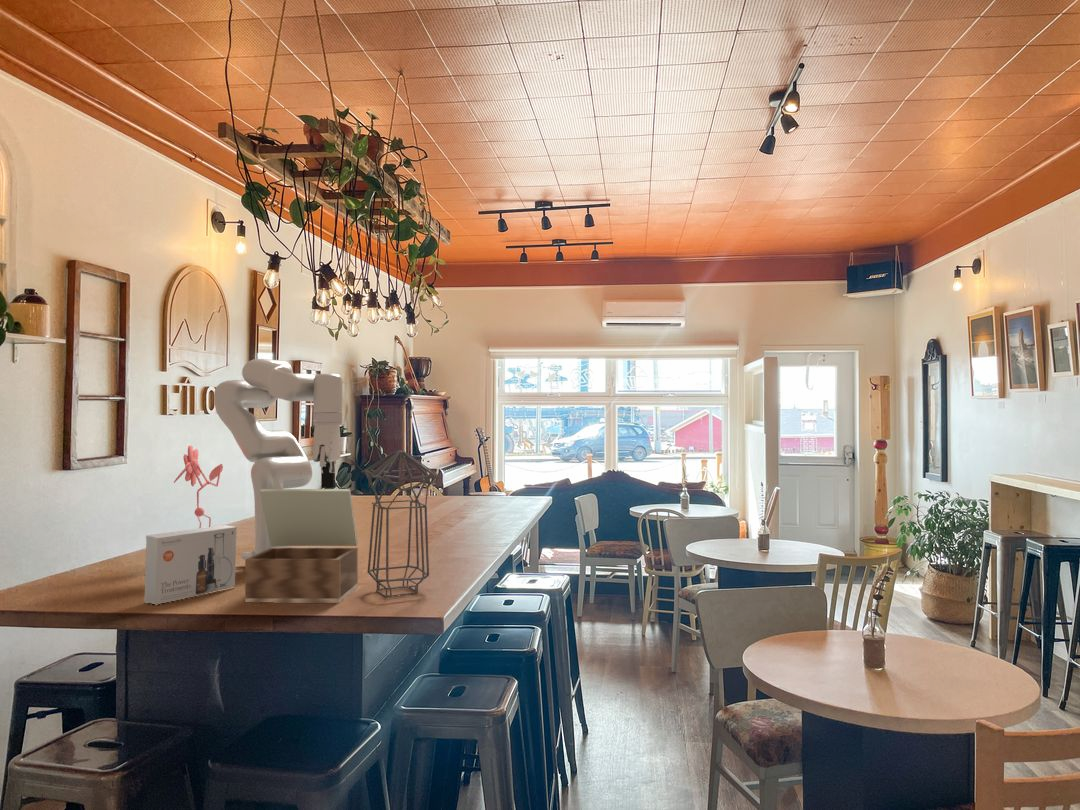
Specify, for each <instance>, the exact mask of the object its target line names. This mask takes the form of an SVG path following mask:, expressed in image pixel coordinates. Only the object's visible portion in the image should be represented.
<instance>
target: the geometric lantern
mask: <svg viewBox="0 0 1080 810" xmlns="http://www.w3.org/2000/svg"><path fill="white" fill-rule="evenodd" d="M397 461H398V469H397V470H394V467H395V465H396V463H397ZM403 462H404V465H405V468H406V469H404V470H403ZM409 466H410V468H409ZM414 466H415V468H414ZM374 469H375V470H374ZM417 471H419V472H420V476H414V477H413V474H414V473H415V472H417ZM360 473H364V474H365V476H366V478H367V480H368V488H372V491H373V493H374V498H375V501H374V502H371V505H372V514H371V526H370V537H369V538H370V539H369V552H368V563H367V565H368V566H367V573H368V575H370V577H371V578H372V579H373V580H374V582H375V583H376V592H377V593H378V592H379V594H380V595H382V596H383V597H385V598H391V597H392V596H393V597H399V596H398V595H400V596H406V595H405V594H408V595H413V593H415V594H418V593H419V585H420V584H421V583H423V581H424V580H426V579H427V578H428V577H429V576H430V566H429V565H430V562H429V560H430V559H429V537H428V536H429V535H428V534H429V533H428V532H429V531H428V508H427V507H428V506H427V502H428V501H427V500H428V493H429V492H428V491H429V487H431V485H432V484H433V483H434V481H435V480H436V479H437V477H438V476H439V474H438V473H436V472H435V471H434V470H433V469H431V468H429V467H428V466H427V465H425V464H423V463H422V462H421V461H419V460H418V459H416V458H415V457H413V456H412V455H411V454H409V453H408V452H406V451H404V450H395V451H394V452H391V453H390V454H387V455H386V456H384V457H383V458H382V459H380V460H378V461H377V462H375V463H373V464H372V465H370V466H368V467H366V468H365V469H363V470H361V471H360ZM391 473H398V474H397V476H396V475H391ZM403 473H408V474H407V475H406V476H405V477H404V478H401V476H402V474H403ZM381 475H382V476H381ZM372 479H374V484H373V481H372ZM379 479H380V480H381V481H384V482H385V484H384V486H383V488H382V491H381V493H380V495H379V496H378V492H377V491H376V487H377V484H378V481H379ZM392 479H397V482H395V481H392ZM419 479H420V480H421V481H420V482H417V484H415V485H413V483H412V481H413V480H419ZM405 481H407V482H409V484H410V487H405V486H404V485H403V483H404V482H405ZM388 484H391V485H392V486H394V487H395V488H396V489H398V490H399V491H398V493H397V494H396V495H395V497H394V498H393V499H392V500H386V501H385V500H382V501H381V499H382V498H383V497H382V496H383V495H384V492H385V490H386V489H387V486H388ZM419 486H421V487H420V489H419V492H418V493H417V494H416V492H415V489H416V488H418V487H419ZM401 487H402V488H401ZM424 487H426V491H425V492H426V493H425V501H424V503H422V502H420V501H419V497H420V495H421V494H422V491H423V489H424ZM410 490H411V491H412V493H413V496H414V499H413V498H412V497H411V495H410V493H409V492H408V491H410ZM404 491H405V493H406V494H407V495H408V496H409V498H410V499H411V500H410V499H405V500H396V499H397V498H398V496H399V494H401V492H404ZM405 502H407V503H408V502H409V506H400V507H399V506H395V507H391V505H392V504H393V503H405ZM385 503H389V505H387V507H385V506H382V504H385ZM413 504H415V506H413ZM376 507H377V515H376V525H375V513H376ZM398 509H399V510H401V509H405V510H406V509H409V515H408V516H409V519H408V521H409V522H408V539H407V542H408V543H407V559H406V560H407V562H406V565H399V566H389V542H390V541H389V538H390V536H389V528H390V527H389V525H390V524H389V521H390V519H389V517H390V516H389V513H390V512H389V511H390V510H398ZM413 509H414V510H415V512H414V513H415V537H416V538H415V539H416V540H415V541H416V542H415V544H416V566H415V565H411V564H410V559H411V537H412V513H413ZM418 509H419V512H418ZM423 509H424V525H423ZM384 510H385V511H386V512H385V513H386V514H385V515H386V516H385V517H386V518H385V520H386V521H385V529H386V530H385V531H386V533H385V534H386V535H385V541H386V542H385V550H386V551H385V555H386V556H385V558H386V559H385V567H380V560H381V559H380V558H381V543H382V529H383V520H384V519H383V518H384V517H383V516H384ZM418 513H419V515H418ZM418 516H419V517H418ZM418 518H419V519H418ZM374 525H375V536H374ZM419 525H420V528H419ZM424 527H425V528H424ZM419 529H420V546H421V547H420V548H421V550H420V548H419ZM424 530H425V532H424ZM424 533H425V534H424ZM424 535H425V546H424ZM373 538H374V539H375V540H374V551H372V549H373ZM424 547H425V552H424ZM419 551H421V567H420V557H419V555H420V554H419ZM372 552H373V561H372ZM424 554H425V555H426V557H425V555H424ZM425 558H426V571H425ZM371 561H372V568H371ZM408 568H409V569H414V570H413V571H412V572H411V574H409V576H408V577H406V576H407V573H408V572H407V571H408ZM395 569H398V570H399V569H405V571H404V576H403V577H399V578H389V570H395ZM383 570H384V571H385V578H384V579H382V578H381V579H380V578H379V575H380V573H379V571H383ZM417 570H418V571H420V572H421V574H422V576H421V577H419V576H417V577H412V575H413V574H415V571H417ZM417 580H419V581H418V582H415V581H417ZM401 581H402V585H398V586H390V582H401ZM405 581H406V585H405ZM384 582H386V584H387V587H386V586H385V585H384V584H383V583H384ZM409 582H411V583H413V585H409ZM380 587H382V588H380ZM408 587H409V588H408ZM405 588H406V589H407V588H408V589H411V590H412V591H413V592H405V593H397V594H392V593H393V590H398V589H405ZM383 589H384V590H385V593H383V592H381V591H383ZM388 590H389V595H388Z"/></svg>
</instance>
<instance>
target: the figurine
mask: <svg viewBox="0 0 1080 810" xmlns="http://www.w3.org/2000/svg"><path fill="white" fill-rule="evenodd" d="M193 447H194V446H193V445H192V444H191V445H188V446H187V454H186V453H184V454H183V463H184V465H185V467H184V469H182V470H181V472H179V474H178V476H177V477H176V478H175V479H174V481H173V483H174V484H175V483H176V482H177V481H178V480H179V479H180V478H181V477H182V475H184V474H185V475H184V476H185V477H184V481H185V482H189V481H190V485H191V487H194V486H195V485H196V483H197V481H198V483H199V485H200V488H198V489H197V491H196V509H194V515H195V517H197V520H198V522H199V527H198V529H199V528H202V521H201V519H200V517H202V516H204V517H205V518H208V520H209V521H208V527H211V521H212V520H211V519H212V518H211V517H210V516H208V515H206V514H205V510H204V509H203V508H202V507H200V505H199V503H200V496H199V495H200V491H201V490H202V489H204V488H205V487H206V486H207V485H210V486H211V485H212V486H214V487H218V486H219V483H220V479H221V473H222V471H223V470H224V469H223V467H224V466H223V464H222V463H220V464H218V465H217V466H215V467H214V468H213V469H212V470H211V471H210V473H209V476H208V478H209V480H208V479H207V477H206V476H205V474H204V473H203V471H202V469H201V466H200V464H199V449H198V448H195V449H194V448H193ZM201 475H202V477H203V479H204V481H205V482H203V484H202V482H201V480H200V477H199V476H201ZM216 478H217V480H216V483H213V482H212V481H214V479H216Z"/></svg>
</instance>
